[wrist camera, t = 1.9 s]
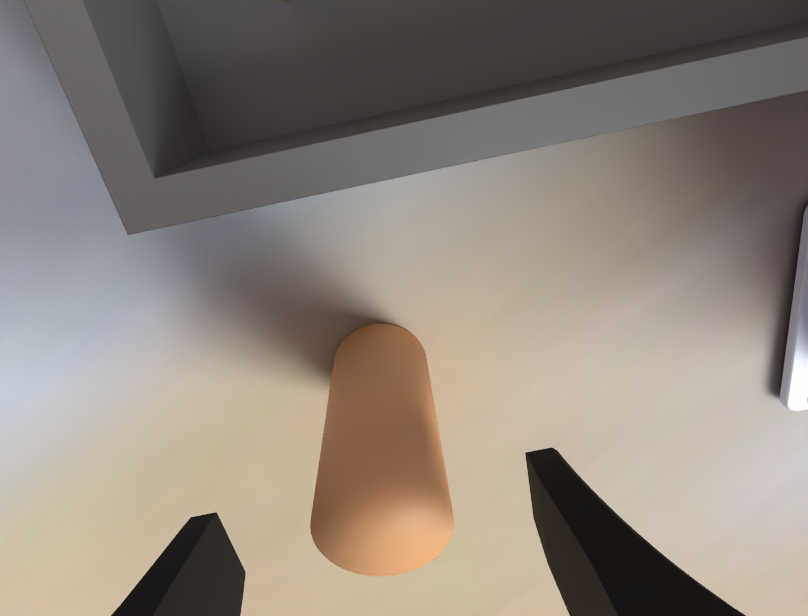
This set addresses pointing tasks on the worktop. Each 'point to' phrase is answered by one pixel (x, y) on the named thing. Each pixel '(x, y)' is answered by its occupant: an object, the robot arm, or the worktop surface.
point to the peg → (381, 458)
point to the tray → (385, 85)
